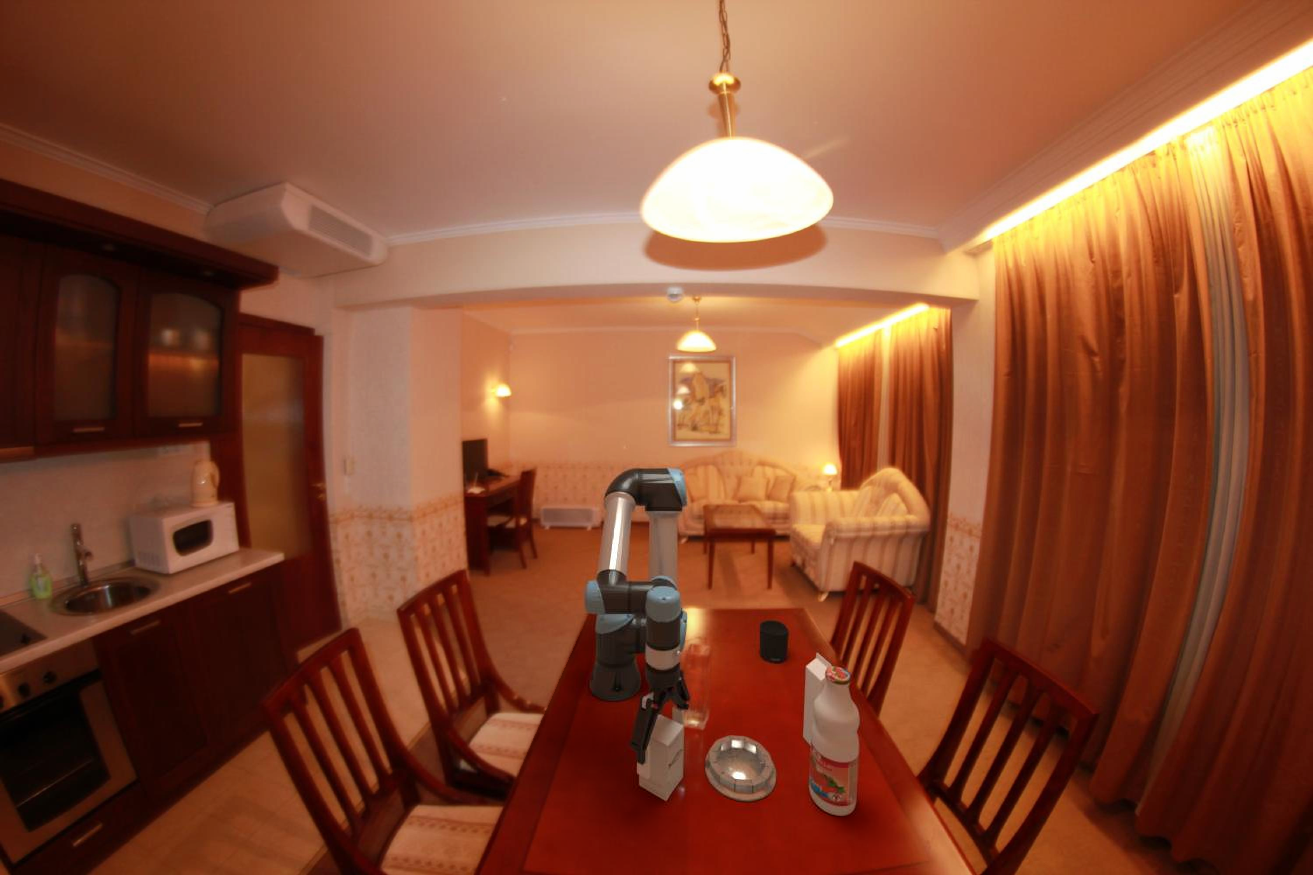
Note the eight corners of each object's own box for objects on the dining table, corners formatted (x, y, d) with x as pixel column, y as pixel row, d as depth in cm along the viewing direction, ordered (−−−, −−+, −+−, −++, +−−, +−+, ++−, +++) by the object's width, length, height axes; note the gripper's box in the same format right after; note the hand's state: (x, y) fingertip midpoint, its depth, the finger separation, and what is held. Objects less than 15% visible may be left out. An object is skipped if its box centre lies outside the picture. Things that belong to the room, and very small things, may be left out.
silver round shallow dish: (692, 777, 99) (692, 765, 99) (723, 733, 112) (724, 723, 112) (760, 815, 90) (760, 802, 90) (785, 763, 103) (786, 752, 103)
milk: (817, 755, 106) (821, 668, 104) (802, 737, 112) (805, 653, 110) (839, 749, 108) (843, 663, 106) (823, 731, 113) (826, 650, 111)
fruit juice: (866, 811, 91) (873, 683, 89) (826, 822, 89) (832, 690, 87) (836, 774, 100) (842, 656, 98) (800, 783, 98) (804, 662, 96)
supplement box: (666, 802, 93) (667, 746, 92) (638, 785, 97) (638, 731, 96) (684, 778, 99) (685, 724, 98) (656, 762, 103) (657, 711, 102)
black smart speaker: (753, 656, 147) (754, 627, 146) (766, 645, 154) (767, 617, 153) (780, 668, 141) (781, 637, 140) (792, 655, 148) (793, 626, 147)
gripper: (642, 697, 83) (641, 804, 85) (705, 641, 104) (704, 728, 105) (612, 683, 88) (611, 784, 89) (678, 632, 108) (677, 715, 109)
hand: (661, 754), depth 97 cm, fingers open, 13 cm apart
